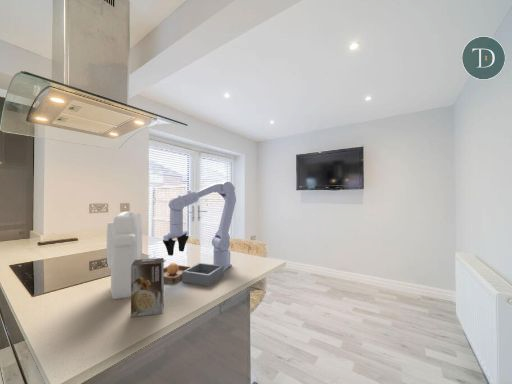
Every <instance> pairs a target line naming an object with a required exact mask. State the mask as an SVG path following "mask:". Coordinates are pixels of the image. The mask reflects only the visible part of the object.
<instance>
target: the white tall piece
mask: <svg viewBox="0 0 512 384" xmlns="http://www.w3.org/2000/svg"><path fill="white" fill-rule="evenodd" d="M106 229H107V230H106V262H107V267H108V269H109V270H110V292H111V298H112V300H119V299H120V300H121V299H125V298H126V299H127V298H131V265H132V263H133V262H134V261H135V260H140V259H143V218H142V215H141V214H140V213H133V212H130V211H123V212H121V213H119V214H117V215H115V217H114V219H113V221H109V222H108V223H107V228H106Z"/></svg>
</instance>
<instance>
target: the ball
mask: <svg viewBox="0 0 512 384" xmlns="http://www.w3.org/2000/svg"><path fill="white" fill-rule="evenodd" d="M178 265H179V264H177V263H176V262H171V263H169V264H168V267H167V266H166V267H167V271H168V273H169V274H176V273H177V272H178V270H179V266H178Z"/></svg>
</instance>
